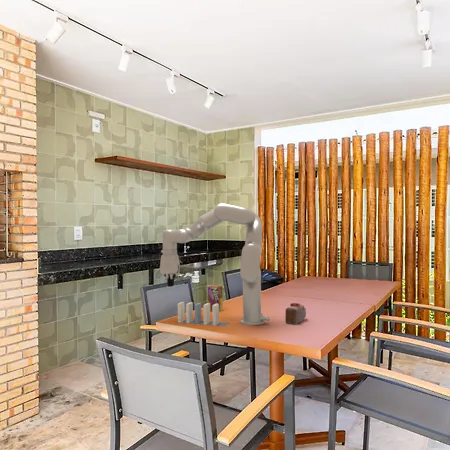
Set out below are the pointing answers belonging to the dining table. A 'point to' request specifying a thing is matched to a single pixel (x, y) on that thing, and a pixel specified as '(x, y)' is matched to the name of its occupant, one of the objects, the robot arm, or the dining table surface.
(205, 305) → the domino
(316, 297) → the dining table surface
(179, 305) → the domino
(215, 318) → the domino
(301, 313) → the food item
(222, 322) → the mat
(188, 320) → the domino
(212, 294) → the candy box
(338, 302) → the dining table surface
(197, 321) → the slate domino
